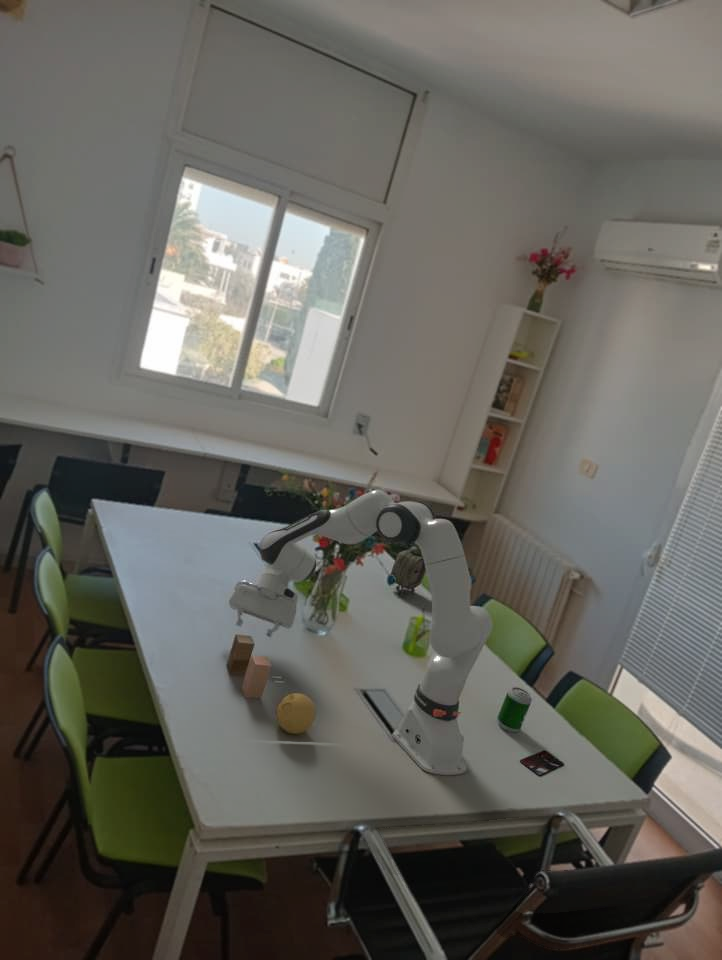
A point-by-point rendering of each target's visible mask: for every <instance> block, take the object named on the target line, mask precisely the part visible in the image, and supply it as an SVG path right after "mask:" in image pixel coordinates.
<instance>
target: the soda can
mask: <svg viewBox="0 0 722 960" xmlns="http://www.w3.org/2000/svg"><path fill="white" fill-rule="evenodd" d="M532 701H533V700H532V697H531V694H530V693H529V692H528V691H527V690H525V689H523V688H521V687H517V686H513V687H511V688H509V689H508V690H507V693H506V696H505V697H504V699H503V703H502V706H501V708H500V709H499V713H498V715H497V718H496V719H497V720H496V721H497V722H498V723H497V724H498V725H499V727H500V728H501V729H503V730H504V731H507V732H508V733H509V732H510V733H516V732H519V731H520V730H521V728H522V725H523V723H524V721H525V718H526V716H527V714H528V712H529V709H530V705H531V703H532Z"/></svg>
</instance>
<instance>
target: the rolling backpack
mask: <svg viewBox="0 0 722 960" xmlns="http://www.w3.org/2000/svg"><path fill="white" fill-rule="evenodd" d="M425 574H426V568H425V564H424V559H423V555H422V552H421V549H420V547H419V546H418V545H417V544H415V543H414V546H412V547H411V548H409V549H406V550H403V551H400V552H398V553H397V555H396V557H395V560H394V562H393V565H392V569H391V572H390V575H393V576H394V577H395V578H396V582H395V584H397V586H396V587H395V589H396V590H400V592H399V597H403V596H404V593H403V592H404V589H406V590H409V591H410V592H412V593H415V588H417V587H419V586H420V585H421V583H422V582H423V581H422V580H423V579H424V577H425Z"/></svg>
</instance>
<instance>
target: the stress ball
mask: <svg viewBox="0 0 722 960" xmlns="http://www.w3.org/2000/svg"><path fill="white" fill-rule="evenodd" d="M275 714H276V720H277V723H278V725H279V726H280V728H282V730H284V731H285V732H287V733H289V734H293V735H294V734H295V735H299V734H302V733H305V732H306V731H308V730H310V728H311V727H312V726H313V724H314V722H315V719H316V706H315V704H314V702H313V700H312V699H311V698H310V697H309V696H307V695H306V694H303V693H300V692H296V691H295V692H291V693H288V695H286V696H285V697H282V699H280V701H279V704H278V705H277V707H276V711H275Z"/></svg>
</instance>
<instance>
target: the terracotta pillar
mask: <svg viewBox="0 0 722 960" xmlns="http://www.w3.org/2000/svg"><path fill="white" fill-rule="evenodd" d="M271 669H272V663H271V661H270V660H269V657H268V656H264V655H252V654H251V658H250V661H249V664H248V667H247V671H246V674H245V676H244V678H243V682H242V685H241V690H242V693H243V696H244V698H246V699H259V700H260V699H262V697H263V694H264V692H265V687H266V684H267V681H268V679H269V675H270V673H271Z"/></svg>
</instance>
